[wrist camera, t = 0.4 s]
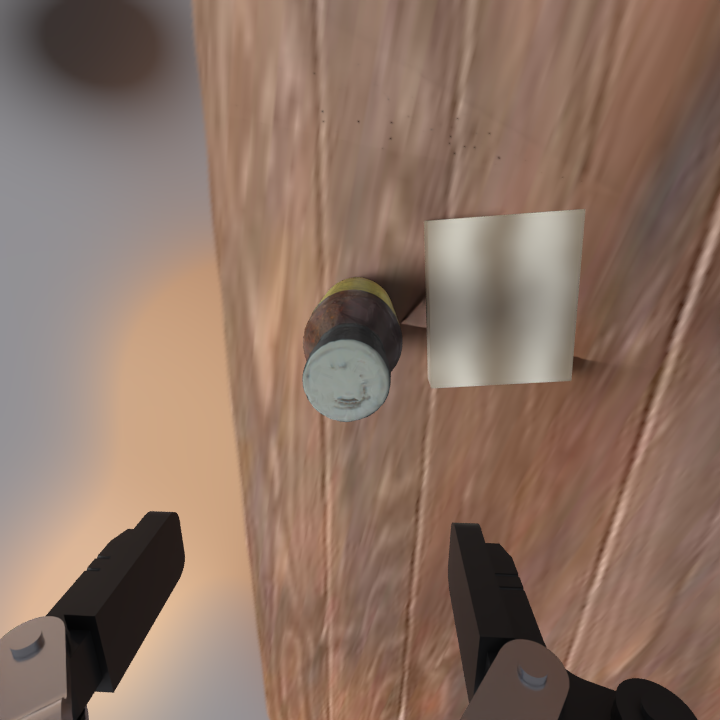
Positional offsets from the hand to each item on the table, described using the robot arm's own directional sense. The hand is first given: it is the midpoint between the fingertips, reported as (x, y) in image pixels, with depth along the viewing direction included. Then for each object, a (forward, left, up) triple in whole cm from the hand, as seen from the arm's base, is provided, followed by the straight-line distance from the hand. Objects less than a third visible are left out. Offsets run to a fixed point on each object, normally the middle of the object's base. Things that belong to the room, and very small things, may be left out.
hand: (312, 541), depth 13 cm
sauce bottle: (0, -2, -28) cm, 28 cm away
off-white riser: (-12, -2, -28) cm, 31 cm away
